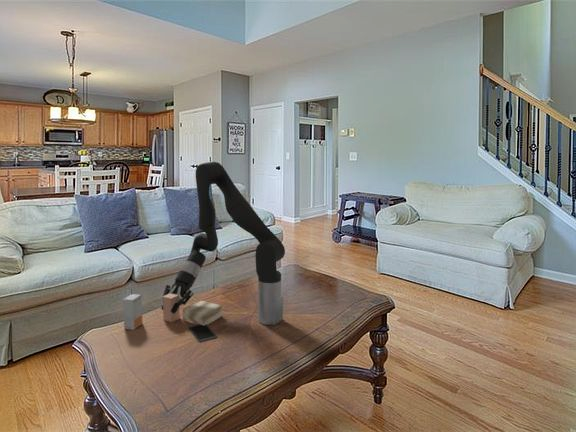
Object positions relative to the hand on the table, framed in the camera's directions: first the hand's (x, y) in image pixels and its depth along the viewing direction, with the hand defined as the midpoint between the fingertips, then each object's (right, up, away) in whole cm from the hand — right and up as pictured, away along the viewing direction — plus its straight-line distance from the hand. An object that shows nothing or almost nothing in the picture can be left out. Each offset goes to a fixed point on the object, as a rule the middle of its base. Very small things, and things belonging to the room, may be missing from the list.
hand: (168, 311), depth 151 cm
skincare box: (-12, -5, -4) cm, 14 cm away
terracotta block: (+1, -4, +2) cm, 5 cm away
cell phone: (+16, -6, -9) cm, 19 cm away
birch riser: (+13, -4, +4) cm, 14 cm away
